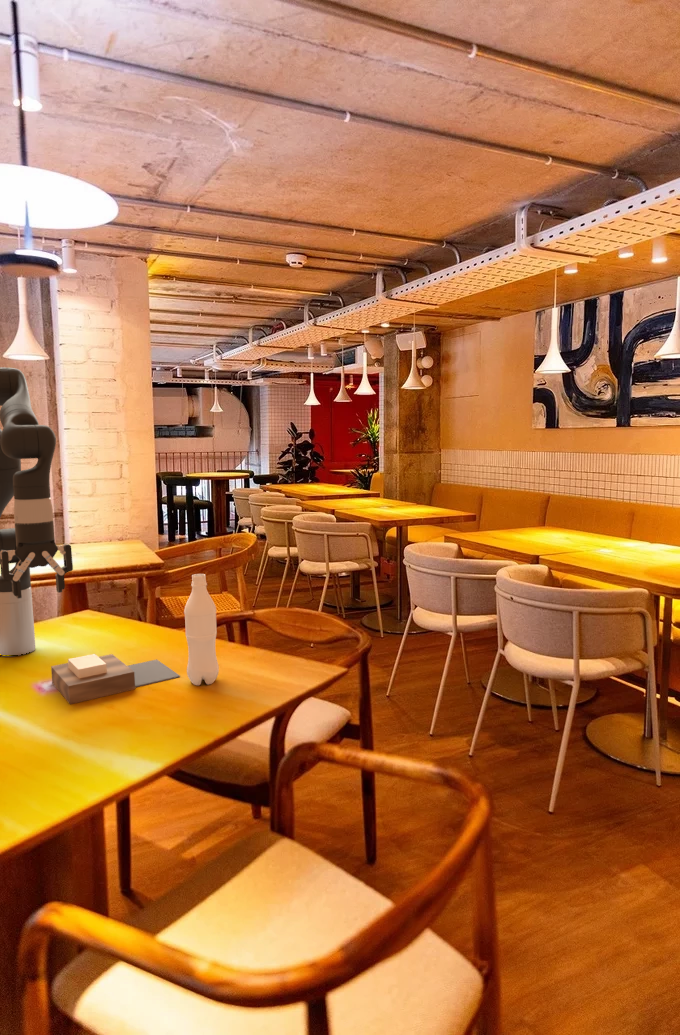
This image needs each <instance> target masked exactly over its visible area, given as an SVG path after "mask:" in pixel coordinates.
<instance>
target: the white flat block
mask: <svg viewBox="0 0 680 1035" xmlns="http://www.w3.org/2000/svg"><path fill="white" fill-rule="evenodd" d="M99 657H100V656H98V655H97V654H95V653H92V654H87V655H82V656H77V657H73V658H71V657H70V658H68V659H67V663H68V667H69V669H70V670H71V671H72V672H73V673H74V674H75V675H76V676H77V677H78V678H83V677H88V676H93V675H97V674H102V673H106V672H107V666H106V663H105V662H104V661H103V660H101V659H100V658H99Z"/></svg>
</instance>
